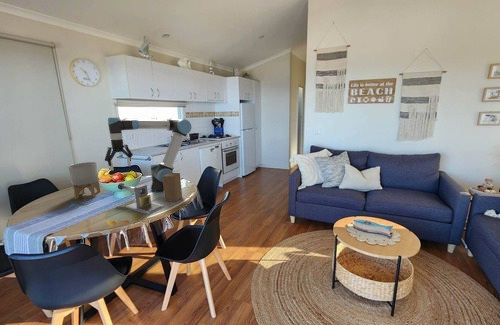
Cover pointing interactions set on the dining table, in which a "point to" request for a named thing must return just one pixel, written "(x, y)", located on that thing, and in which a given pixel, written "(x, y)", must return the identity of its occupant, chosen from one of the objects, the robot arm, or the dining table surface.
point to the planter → (84, 177)
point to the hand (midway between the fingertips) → (121, 168)
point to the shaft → (127, 187)
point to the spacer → (143, 202)
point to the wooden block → (172, 186)
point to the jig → (136, 205)
